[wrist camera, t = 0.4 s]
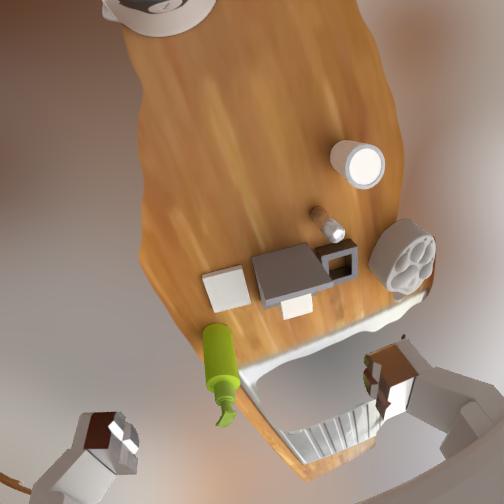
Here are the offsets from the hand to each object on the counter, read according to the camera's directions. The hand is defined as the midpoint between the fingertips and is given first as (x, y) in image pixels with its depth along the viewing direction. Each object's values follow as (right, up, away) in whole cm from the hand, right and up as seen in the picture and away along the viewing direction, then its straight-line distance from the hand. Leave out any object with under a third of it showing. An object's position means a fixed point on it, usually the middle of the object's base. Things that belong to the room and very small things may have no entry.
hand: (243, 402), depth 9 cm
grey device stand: (+6, 0, +47) cm, 47 cm away
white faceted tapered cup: (+15, +20, +38) cm, 45 cm away
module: (+6, 0, +46) cm, 47 cm away
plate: (-4, -2, +46) cm, 46 cm away
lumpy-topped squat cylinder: (+29, +6, +49) cm, 57 cm away
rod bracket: (+16, +3, +47) cm, 50 cm away
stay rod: (+11, +11, +42) cm, 45 cm away
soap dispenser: (-7, -12, +51) cm, 53 cm away
